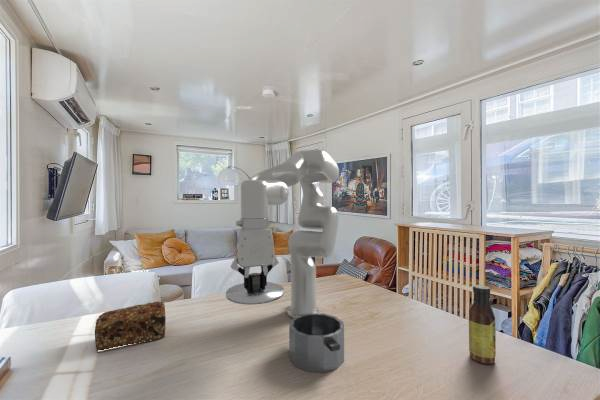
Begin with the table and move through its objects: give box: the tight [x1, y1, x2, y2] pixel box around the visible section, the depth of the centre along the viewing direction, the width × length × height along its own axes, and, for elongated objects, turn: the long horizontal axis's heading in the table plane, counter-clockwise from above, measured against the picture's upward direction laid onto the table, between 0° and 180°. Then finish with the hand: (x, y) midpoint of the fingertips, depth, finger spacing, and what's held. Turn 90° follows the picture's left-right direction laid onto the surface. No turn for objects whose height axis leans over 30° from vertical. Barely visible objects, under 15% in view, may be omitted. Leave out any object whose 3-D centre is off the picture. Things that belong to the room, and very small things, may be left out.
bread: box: [94, 301, 167, 352], centre depth 90 cm, size 19×11×10 cm, turn 117°
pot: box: [288, 312, 345, 374], centre depth 81 cm, size 20×15×9 cm
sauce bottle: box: [468, 284, 497, 365], centre depth 79 cm, size 6×6×20 cm
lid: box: [225, 272, 285, 306], centre depth 80 cm, size 16×16×5 cm
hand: (255, 288), depth 80 cm, fingers closed on lid, 3 cm apart
